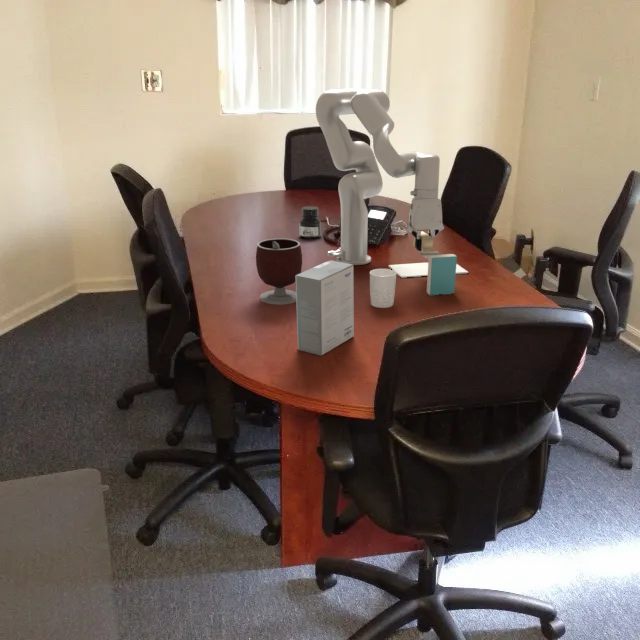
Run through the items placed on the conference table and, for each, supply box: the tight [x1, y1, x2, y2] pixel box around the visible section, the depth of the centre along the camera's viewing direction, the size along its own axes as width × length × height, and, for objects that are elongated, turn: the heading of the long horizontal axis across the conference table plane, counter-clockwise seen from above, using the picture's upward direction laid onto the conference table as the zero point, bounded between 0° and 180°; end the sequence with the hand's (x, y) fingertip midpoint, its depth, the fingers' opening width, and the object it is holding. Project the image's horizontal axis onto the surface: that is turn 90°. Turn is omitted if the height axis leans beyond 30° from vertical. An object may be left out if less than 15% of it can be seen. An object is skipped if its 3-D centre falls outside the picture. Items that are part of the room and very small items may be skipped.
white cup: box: [369, 268, 397, 309], centre depth 199 cm, size 8×8×10 cm
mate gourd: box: [255, 238, 303, 306], centre depth 202 cm, size 16×14×20 cm
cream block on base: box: [413, 230, 443, 260], centre depth 219 cm, size 16×6×5 cm, turn 13°
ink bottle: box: [298, 205, 322, 239], centre depth 276 cm, size 10×9×12 cm
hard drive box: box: [295, 260, 355, 357], centre depth 170 cm, size 16×8×20 cm, turn 145°
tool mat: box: [388, 262, 469, 279], centre depth 233 cm, size 24×14×1 cm, turn 103°
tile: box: [426, 253, 458, 296], centre depth 208 cm, size 8×3×12 cm, turn 103°
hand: (423, 249), depth 222 cm, fingers closed on cream block on base, 3 cm apart
